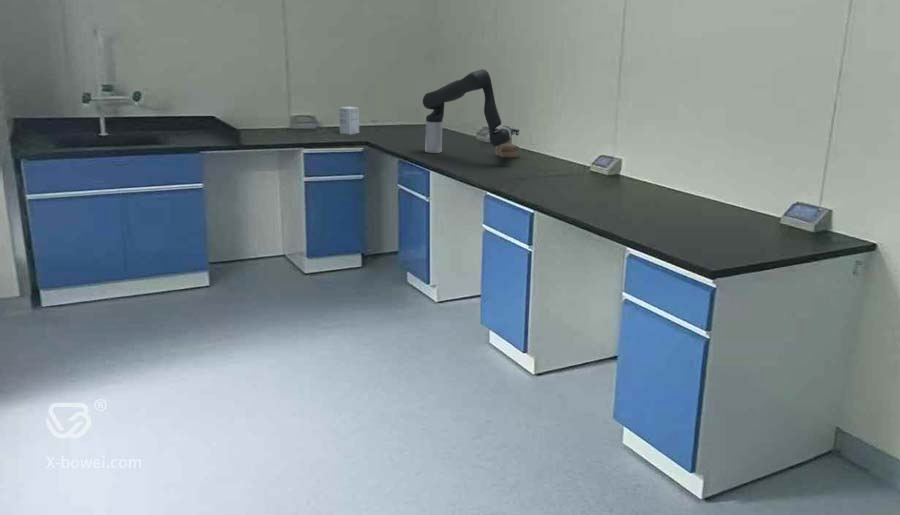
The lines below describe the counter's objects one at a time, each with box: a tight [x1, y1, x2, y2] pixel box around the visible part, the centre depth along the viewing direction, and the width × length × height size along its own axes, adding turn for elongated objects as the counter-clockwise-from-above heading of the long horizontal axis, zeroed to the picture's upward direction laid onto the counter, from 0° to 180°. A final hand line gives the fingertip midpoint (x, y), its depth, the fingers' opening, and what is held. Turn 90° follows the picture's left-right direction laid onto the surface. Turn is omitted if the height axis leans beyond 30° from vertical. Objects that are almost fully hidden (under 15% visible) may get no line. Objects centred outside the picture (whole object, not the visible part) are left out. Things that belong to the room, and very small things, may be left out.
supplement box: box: [338, 106, 360, 136], centre depth 482 cm, size 10×9×17 cm
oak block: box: [502, 126, 514, 146], centre depth 411 cm, size 4×4×10 cm
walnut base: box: [494, 143, 519, 158], centre depth 414 cm, size 10×10×6 cm
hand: (508, 130), depth 413 cm, fingers open, 7 cm apart
